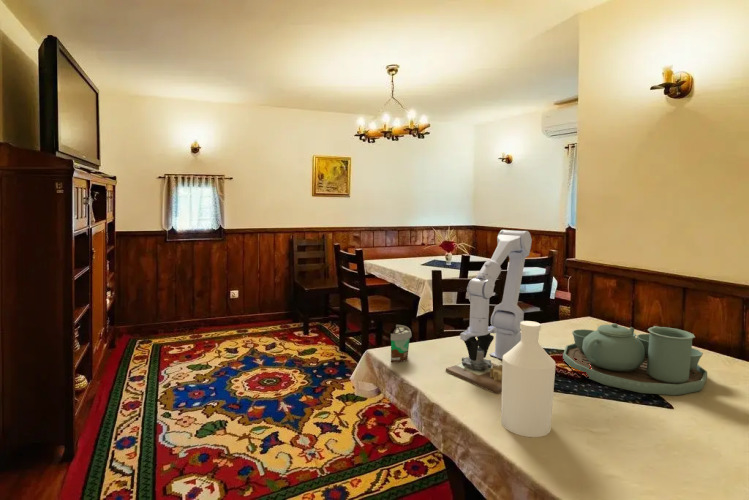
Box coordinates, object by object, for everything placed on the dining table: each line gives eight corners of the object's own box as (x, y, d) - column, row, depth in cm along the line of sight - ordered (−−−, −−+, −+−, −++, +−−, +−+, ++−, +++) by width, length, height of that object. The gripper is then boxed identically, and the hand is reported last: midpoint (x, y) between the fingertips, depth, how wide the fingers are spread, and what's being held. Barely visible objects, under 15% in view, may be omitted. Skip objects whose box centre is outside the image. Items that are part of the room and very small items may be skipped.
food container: (408, 365, 143) (409, 335, 142) (390, 363, 144) (390, 334, 143) (413, 352, 155) (413, 325, 154) (395, 351, 156) (396, 324, 155)
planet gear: (475, 356, 146) (476, 342, 145) (497, 366, 138) (498, 351, 138) (455, 362, 141) (456, 347, 140) (477, 372, 133) (479, 357, 132)
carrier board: (479, 361, 148) (480, 348, 147) (531, 380, 131) (532, 366, 131) (445, 371, 138) (446, 357, 138) (496, 394, 122) (497, 378, 122)
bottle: (523, 442, 98) (529, 333, 95) (489, 418, 108) (493, 319, 106) (563, 431, 102) (569, 327, 100) (526, 409, 113) (531, 315, 110)
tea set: (712, 369, 143) (716, 320, 141) (694, 411, 114) (700, 349, 112) (583, 342, 170) (586, 300, 168) (543, 370, 141) (545, 320, 139)
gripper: (484, 310, 145) (483, 350, 146) (453, 317, 137) (452, 359, 138) (501, 315, 139) (500, 356, 141) (470, 322, 131) (469, 365, 132)
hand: (477, 358), depth 139 cm, fingers closed on planet gear, 4 cm apart
